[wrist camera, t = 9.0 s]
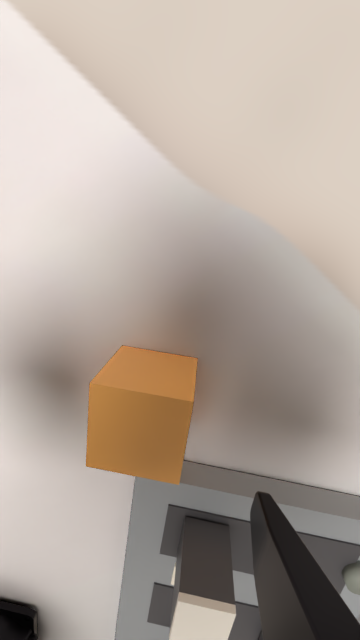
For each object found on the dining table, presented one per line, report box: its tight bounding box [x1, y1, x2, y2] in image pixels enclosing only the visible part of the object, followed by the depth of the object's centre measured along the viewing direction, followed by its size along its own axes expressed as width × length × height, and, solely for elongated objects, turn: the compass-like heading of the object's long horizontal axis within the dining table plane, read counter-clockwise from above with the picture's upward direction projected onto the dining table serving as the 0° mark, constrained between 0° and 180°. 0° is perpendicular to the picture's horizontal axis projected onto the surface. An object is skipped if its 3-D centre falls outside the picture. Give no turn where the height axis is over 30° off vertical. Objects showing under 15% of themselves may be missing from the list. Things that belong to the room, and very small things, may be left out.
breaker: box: [169, 517, 236, 640], centre depth 13 cm, size 2×3×4 cm
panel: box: [115, 461, 360, 640], centre depth 16 cm, size 20×20×3 cm
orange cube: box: [86, 345, 198, 485], centre depth 12 cm, size 4×4×4 cm
